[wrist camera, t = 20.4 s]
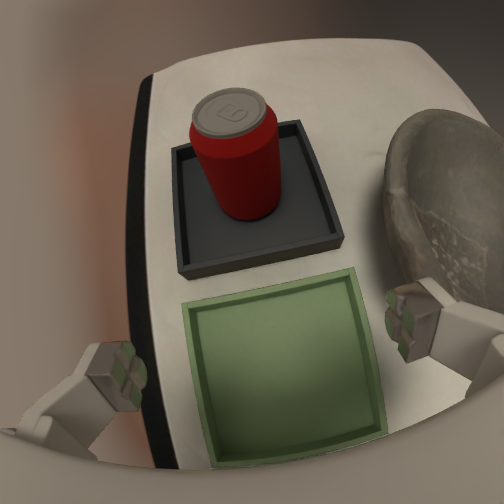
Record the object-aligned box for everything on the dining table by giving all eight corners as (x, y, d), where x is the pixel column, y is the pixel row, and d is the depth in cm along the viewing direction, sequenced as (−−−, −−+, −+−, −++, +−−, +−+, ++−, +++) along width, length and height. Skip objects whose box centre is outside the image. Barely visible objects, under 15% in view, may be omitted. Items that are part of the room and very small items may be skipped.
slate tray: (188, 280, 27) (177, 272, 25) (178, 161, 33) (171, 147, 30) (339, 248, 27) (345, 237, 24) (299, 135, 32) (299, 119, 29)
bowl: (521, 337, 20) (577, 324, 10) (361, 355, 23) (404, 357, 13) (491, 172, 27) (524, 130, 18) (351, 149, 30) (366, 84, 21)
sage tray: (219, 457, 21) (211, 468, 18) (191, 308, 26) (181, 303, 24) (378, 426, 20) (388, 433, 17) (347, 275, 26) (354, 266, 23)
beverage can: (245, 160, 31) (225, 74, 20) (295, 188, 29) (295, 99, 17) (205, 202, 29) (164, 123, 18) (255, 236, 27) (232, 157, 16)
